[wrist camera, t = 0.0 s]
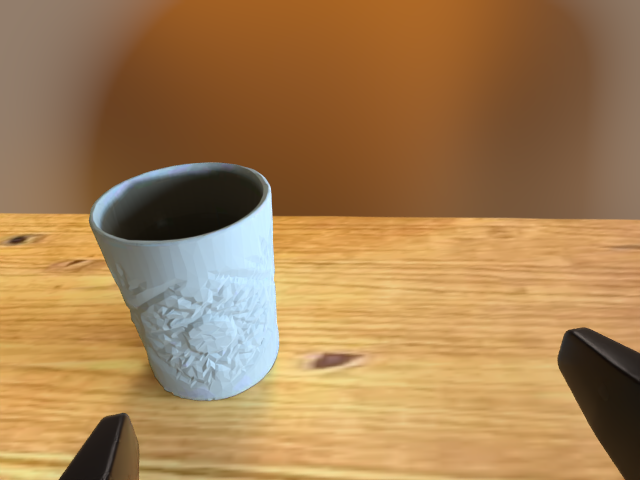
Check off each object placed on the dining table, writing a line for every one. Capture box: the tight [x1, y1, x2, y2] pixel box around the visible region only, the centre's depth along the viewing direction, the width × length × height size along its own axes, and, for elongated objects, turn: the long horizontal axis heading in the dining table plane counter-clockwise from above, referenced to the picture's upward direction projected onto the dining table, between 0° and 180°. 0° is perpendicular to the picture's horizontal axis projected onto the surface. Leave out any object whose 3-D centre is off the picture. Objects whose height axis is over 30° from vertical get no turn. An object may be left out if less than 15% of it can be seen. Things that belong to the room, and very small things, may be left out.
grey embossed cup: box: [89, 163, 279, 401], centre depth 31 cm, size 10×10×12 cm
